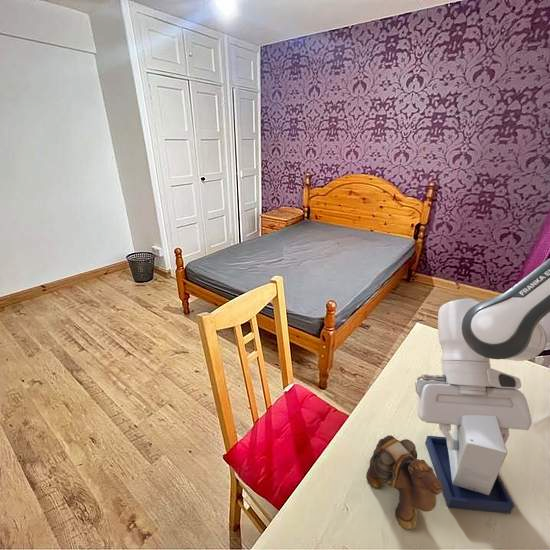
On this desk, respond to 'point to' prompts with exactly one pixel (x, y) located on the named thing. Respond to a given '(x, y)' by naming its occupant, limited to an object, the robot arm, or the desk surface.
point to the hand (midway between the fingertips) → (476, 451)
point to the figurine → (404, 478)
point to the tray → (462, 496)
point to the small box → (477, 453)
